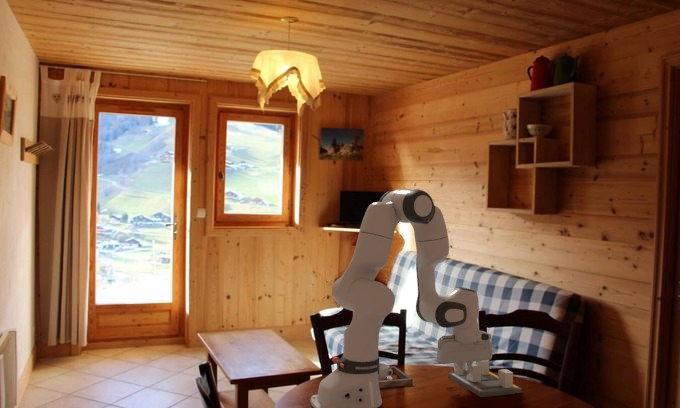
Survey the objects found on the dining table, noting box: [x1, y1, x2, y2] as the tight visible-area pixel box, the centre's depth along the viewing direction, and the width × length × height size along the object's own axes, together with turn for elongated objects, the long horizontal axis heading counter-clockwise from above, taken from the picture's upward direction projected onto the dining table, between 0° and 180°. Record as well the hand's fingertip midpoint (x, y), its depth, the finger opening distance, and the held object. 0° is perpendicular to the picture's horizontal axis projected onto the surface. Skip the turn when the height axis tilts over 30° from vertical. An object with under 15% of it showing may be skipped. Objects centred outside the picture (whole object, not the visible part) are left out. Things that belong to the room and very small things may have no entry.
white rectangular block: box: [467, 363, 481, 382], centre depth 191 cm, size 3×4×5 cm
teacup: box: [378, 362, 394, 381], centre depth 196 cm, size 10×10×5 cm
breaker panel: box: [447, 360, 523, 398], centre depth 192 cm, size 16×21×7 cm
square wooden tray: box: [379, 366, 414, 389], centre depth 195 cm, size 15×15×2 cm
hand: (464, 374), depth 190 cm, fingers closed
